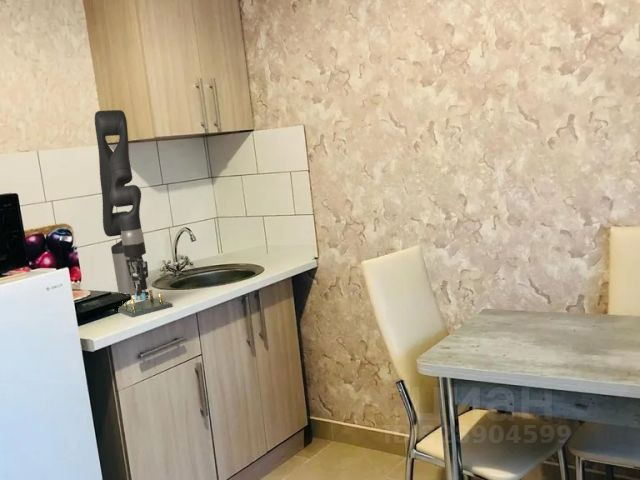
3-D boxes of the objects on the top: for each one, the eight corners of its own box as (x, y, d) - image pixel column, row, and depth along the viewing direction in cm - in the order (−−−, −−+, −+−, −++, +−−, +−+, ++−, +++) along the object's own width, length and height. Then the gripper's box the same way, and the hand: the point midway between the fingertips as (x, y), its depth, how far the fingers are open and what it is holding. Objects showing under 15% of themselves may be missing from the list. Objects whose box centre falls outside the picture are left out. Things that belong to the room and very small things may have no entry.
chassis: (115, 311, 235) (113, 297, 235) (154, 301, 244) (152, 287, 243) (132, 317, 223) (129, 302, 222) (172, 306, 232) (170, 292, 231)
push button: (155, 298, 233) (151, 270, 231) (144, 301, 228) (140, 274, 227) (143, 297, 236) (138, 270, 235) (131, 301, 232) (127, 274, 231)
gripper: (115, 243, 233) (123, 289, 236) (130, 245, 222) (138, 293, 224) (135, 239, 238) (142, 284, 240) (151, 241, 226) (158, 288, 229)
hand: (140, 288), depth 232 cm, fingers closed on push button, 5 cm apart
